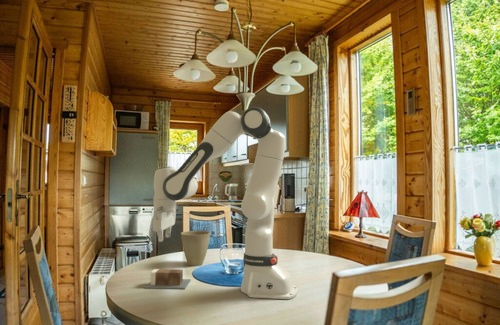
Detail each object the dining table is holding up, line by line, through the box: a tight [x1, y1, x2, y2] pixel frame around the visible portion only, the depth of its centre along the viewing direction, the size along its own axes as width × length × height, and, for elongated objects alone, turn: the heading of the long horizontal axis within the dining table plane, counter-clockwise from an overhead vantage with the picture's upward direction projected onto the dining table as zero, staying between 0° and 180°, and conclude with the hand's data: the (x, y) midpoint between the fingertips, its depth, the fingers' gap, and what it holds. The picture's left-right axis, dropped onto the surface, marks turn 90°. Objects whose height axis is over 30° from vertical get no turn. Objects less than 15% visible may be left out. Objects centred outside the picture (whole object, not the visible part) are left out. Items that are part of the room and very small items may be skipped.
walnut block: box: [149, 268, 184, 285], centre depth 138 cm, size 5×5×12 cm
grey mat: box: [144, 278, 191, 290], centre depth 138 cm, size 16×11×1 cm
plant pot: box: [180, 230, 211, 267], centre depth 171 cm, size 15×15×16 cm
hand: (164, 239), depth 139 cm, fingers open, 8 cm apart
